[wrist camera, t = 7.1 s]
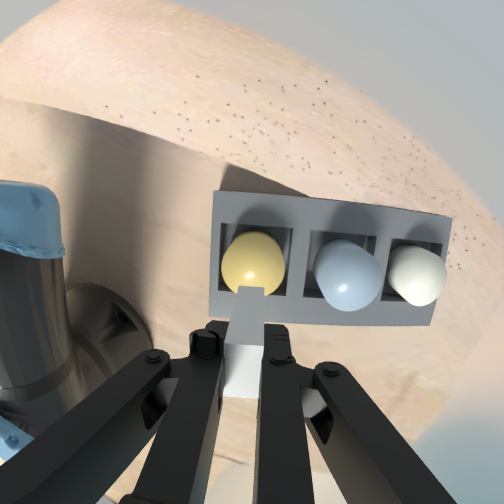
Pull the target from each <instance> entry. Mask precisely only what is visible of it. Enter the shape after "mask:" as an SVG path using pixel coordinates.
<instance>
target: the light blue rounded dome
mask: <svg viewBox="0 0 504 504" xmlns="http://www.w3.org/2000/svg"><path fill="white" fill-rule="evenodd" d="M313 274H314V277H315V279H316V281H317V283H318V285H319V287H320V289H321V291H322V293H323V295H324V297H325V299H326V301H327V302H328V303H329V304H330V305H331V306H332V307H334V308H336V309H338V310H341V311H356V310H359V309H361V308H363V307H365V306H367V305H368V304H369V303H371V302H372V301H373V300H374V298H375V297H376V296H377V294H378V292H379V290H380V288H381V284H382V271H381V267H380V265H379V263H378V261H377V260H376V259H375V257H373V256H372V255H371V254H370V253H368V252H367V251H365V250H364V249H363V248H361V247H360V246H358V245H357V244H355V243H354V242H352V241H350V240H346V239H336V240H333V241H330V242H328V243H326V244H325V245H324V246H323V247H321V248H320V250H319V251H318V252H317V254H316V256H315V258H314V262H313Z"/></svg>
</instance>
